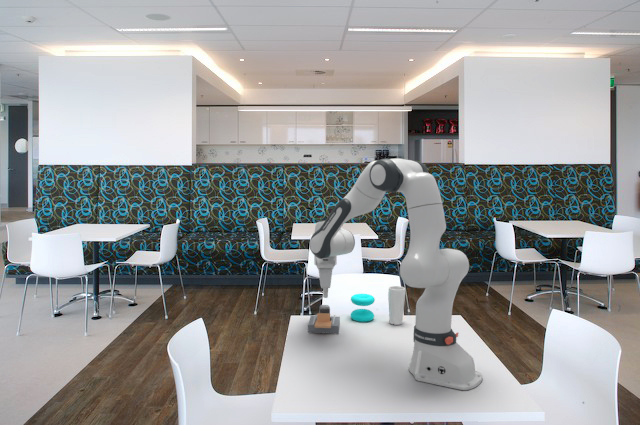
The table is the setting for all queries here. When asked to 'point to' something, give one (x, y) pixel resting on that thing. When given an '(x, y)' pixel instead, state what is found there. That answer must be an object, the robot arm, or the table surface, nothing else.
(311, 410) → the table surface
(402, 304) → the drinking glass
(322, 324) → the block
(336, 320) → the socket plate
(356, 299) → the donuts
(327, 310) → the plug
